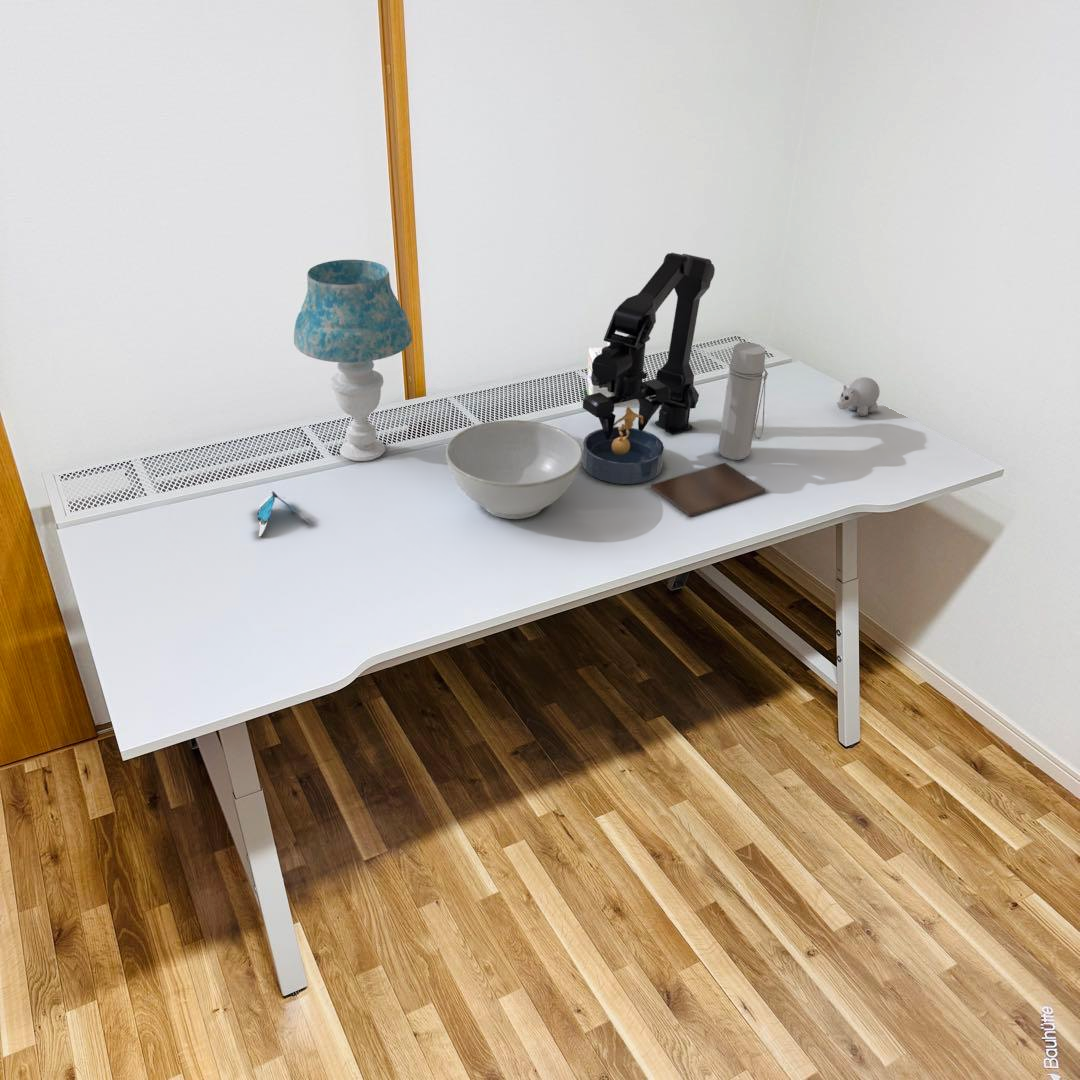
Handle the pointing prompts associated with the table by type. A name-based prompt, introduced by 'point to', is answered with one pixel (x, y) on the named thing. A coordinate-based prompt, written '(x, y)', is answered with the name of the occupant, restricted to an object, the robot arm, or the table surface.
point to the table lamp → (353, 339)
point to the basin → (623, 457)
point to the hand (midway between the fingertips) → (624, 434)
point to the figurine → (621, 443)
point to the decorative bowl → (514, 465)
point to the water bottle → (742, 400)
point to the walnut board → (707, 489)
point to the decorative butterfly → (268, 510)
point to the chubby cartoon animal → (860, 396)
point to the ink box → (590, 387)
